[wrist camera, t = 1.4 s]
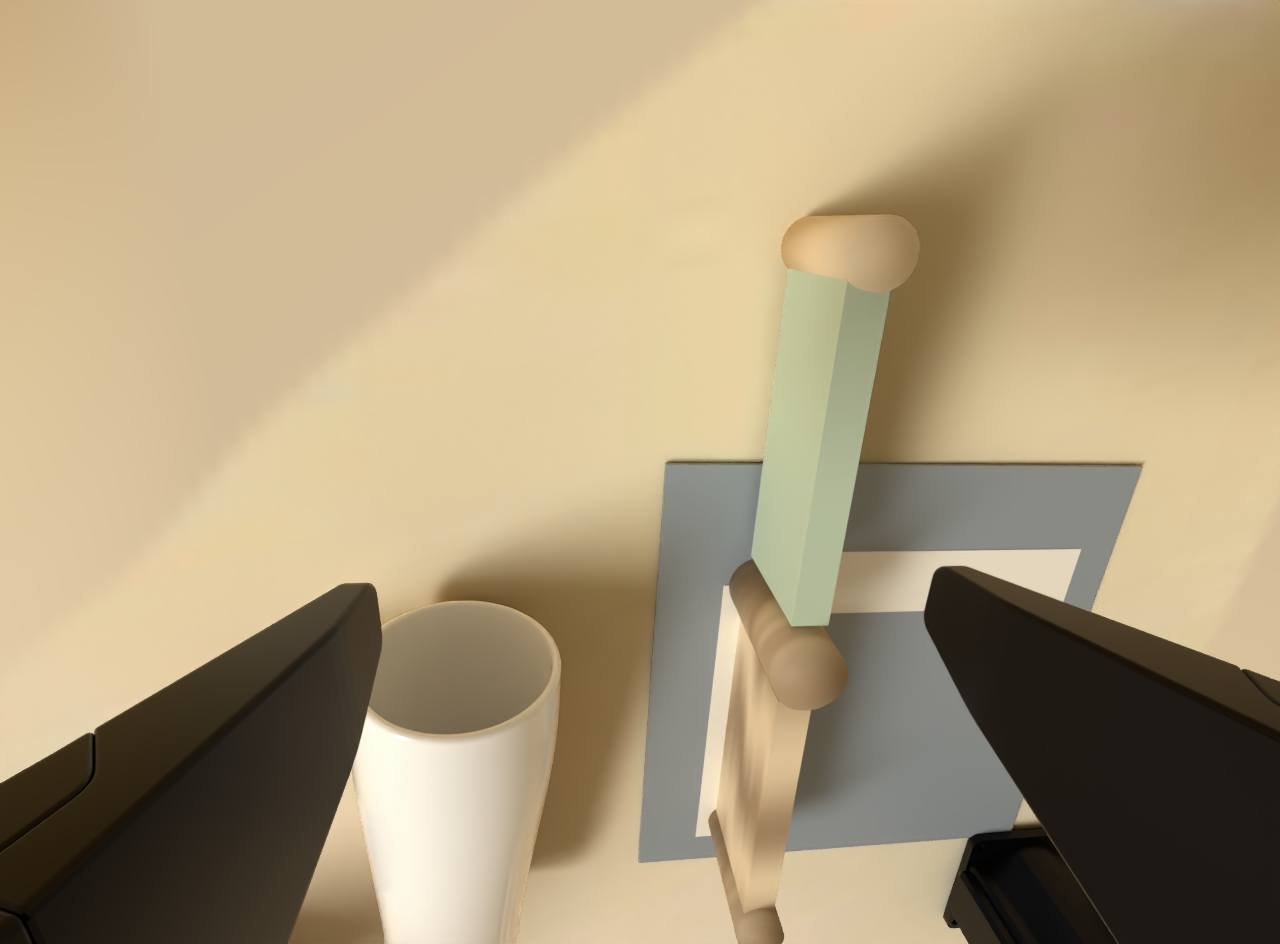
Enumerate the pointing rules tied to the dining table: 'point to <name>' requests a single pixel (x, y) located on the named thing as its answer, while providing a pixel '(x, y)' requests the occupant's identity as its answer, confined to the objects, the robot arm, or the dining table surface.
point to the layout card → (861, 644)
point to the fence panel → (823, 398)
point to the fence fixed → (766, 748)
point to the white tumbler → (456, 769)
